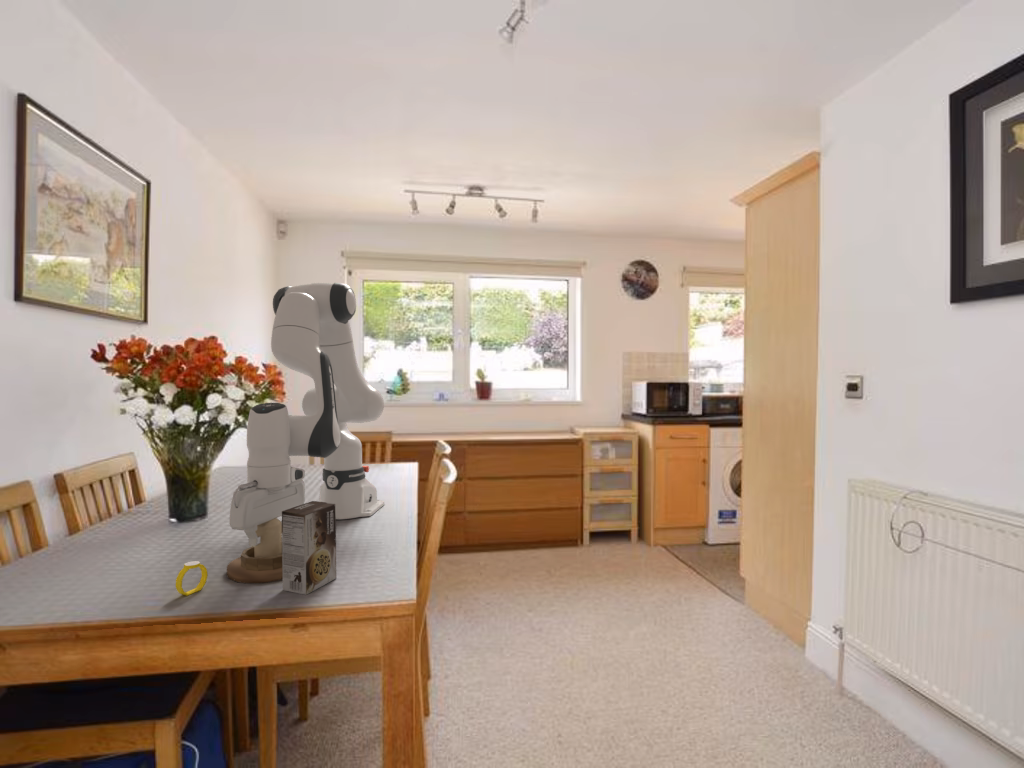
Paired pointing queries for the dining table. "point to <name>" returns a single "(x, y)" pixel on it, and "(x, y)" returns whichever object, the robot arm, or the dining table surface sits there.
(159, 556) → the dining table surface
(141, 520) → the dining table surface
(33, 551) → the dining table surface
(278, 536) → the candle
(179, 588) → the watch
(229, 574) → the candle plate
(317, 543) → the coffee box
